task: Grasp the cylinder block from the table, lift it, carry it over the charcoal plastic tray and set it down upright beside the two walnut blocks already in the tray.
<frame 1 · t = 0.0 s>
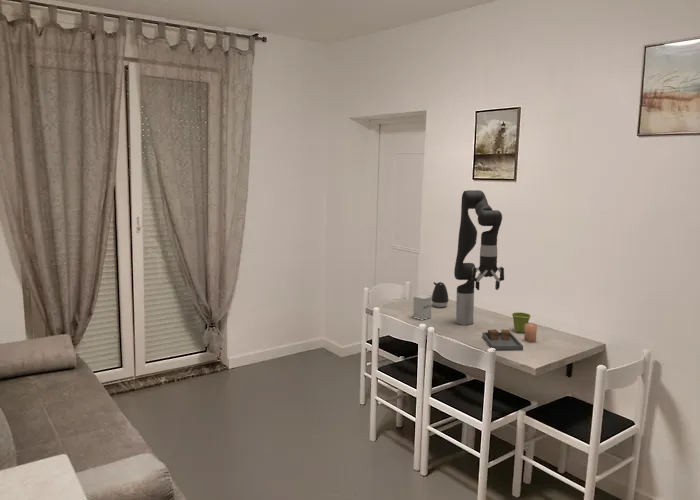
hand: (487, 289, 240), 29 cm above the table, fingers open, 8 cm apart
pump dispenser: (439, 306, 323), on the table
cylinder block: (530, 340, 259), on the table
plant pot: (520, 331, 274), on the table
tray: (501, 343, 255), on the table
walnut block a: (493, 338, 260), point 1 cm above the table, touching tray
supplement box: (422, 318, 298), on the table
walnut block b: (505, 338, 260), point 1 cm above the table, touching tray
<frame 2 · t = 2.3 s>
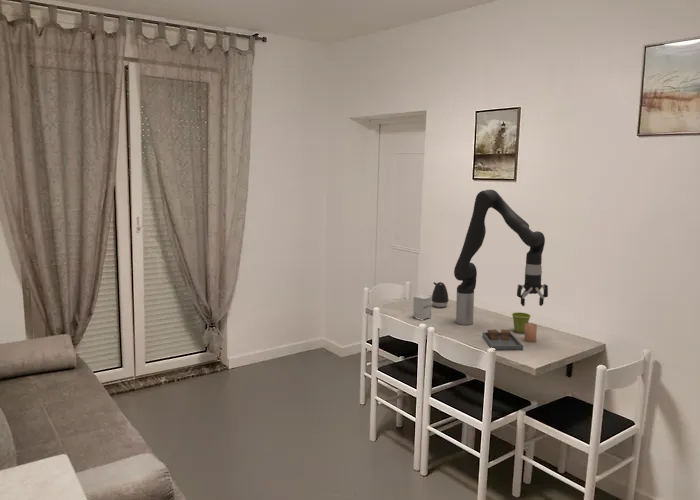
hand: (531, 305, 256), 18 cm above the table, fingers open, 8 cm apart
nothing on the table moved.
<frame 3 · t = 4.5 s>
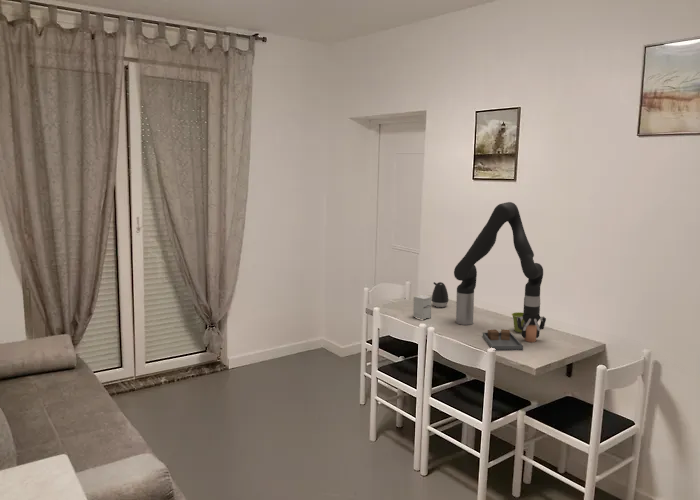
hand: (530, 337, 259), 2 cm above the table, fingers closed on cylinder block, 5 cm apart
cylinder block: (530, 340, 259), on the table, touching gripper
everything else where it was.
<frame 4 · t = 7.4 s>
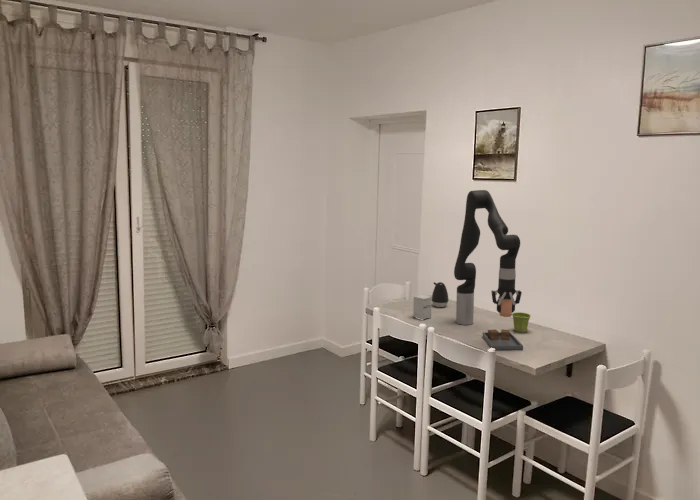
hand: (505, 312, 249), 17 cm above the table, fingers closed on cylinder block, 5 cm apart
cylinder block: (505, 315, 249), point 15 cm above the table, touching gripper
everything else where it was.
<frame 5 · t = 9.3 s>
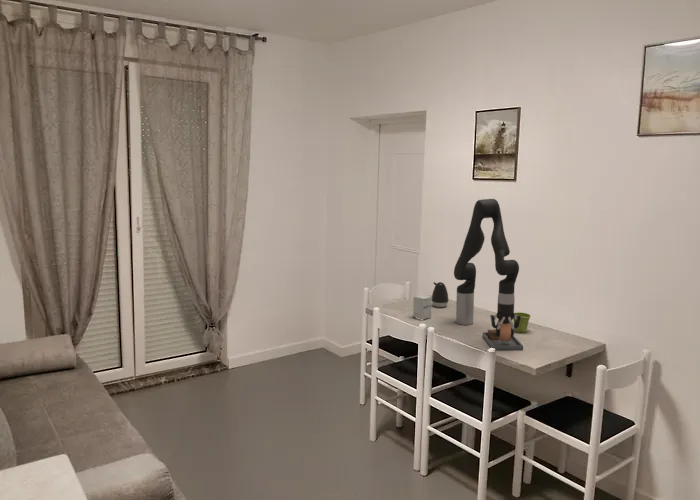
hand: (504, 336, 251), 5 cm above the table, fingers closed on cylinder block, 5 cm apart
cylinder block: (504, 339, 251), point 3 cm above the table, touching gripper
everything else where it was.
when the fingers open (4 cm above the table, at t = 10.6 s): cylinder block drops 1 cm, resting on tray.
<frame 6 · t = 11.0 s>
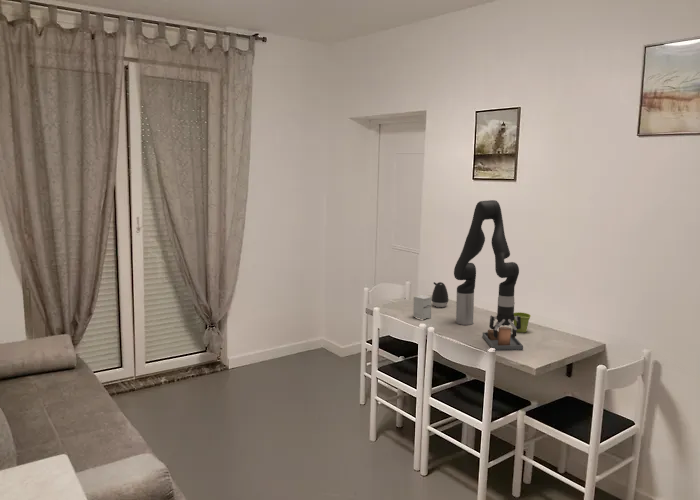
hand: (504, 337, 251), 4 cm above the table, fingers open, 8 cm apart
cylinder block: (503, 344, 251), point 1 cm above the table, touching tray
everything else where it was.
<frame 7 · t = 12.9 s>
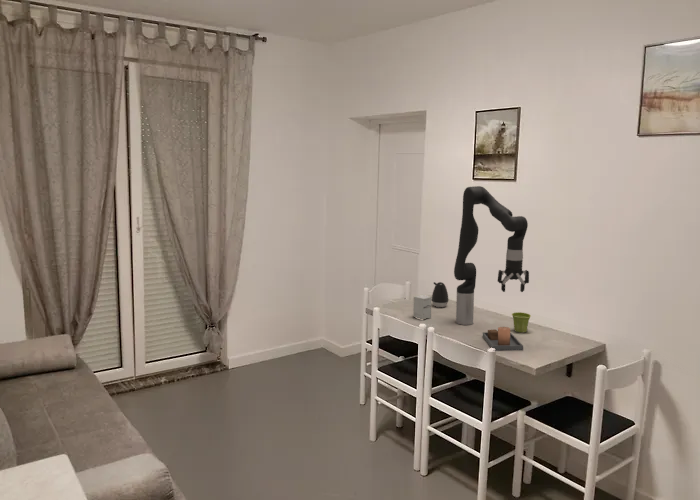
hand: (512, 291, 253), 25 cm above the table, fingers open, 8 cm apart
nothing on the table moved.
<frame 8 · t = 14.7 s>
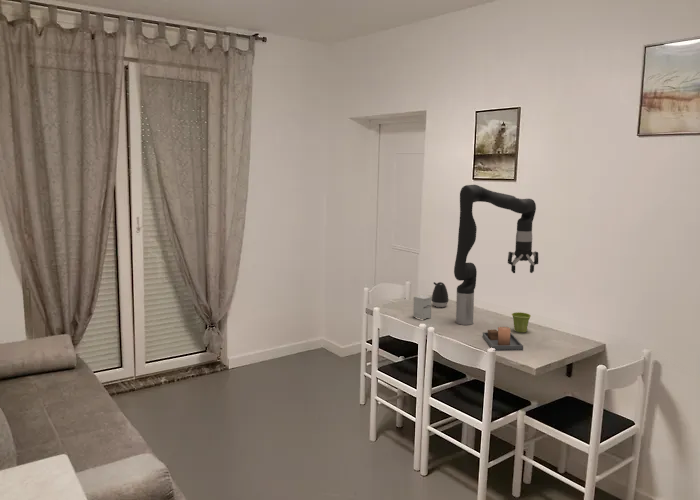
hand: (522, 272, 258), 33 cm above the table, fingers open, 8 cm apart
nothing on the table moved.
at the end: cylinder block inside the target area on the tray (4.0 cm from its centre), point 0.7 cm above the tray's base; cylinder block tilted 2°; the gripper is holding nothing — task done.
